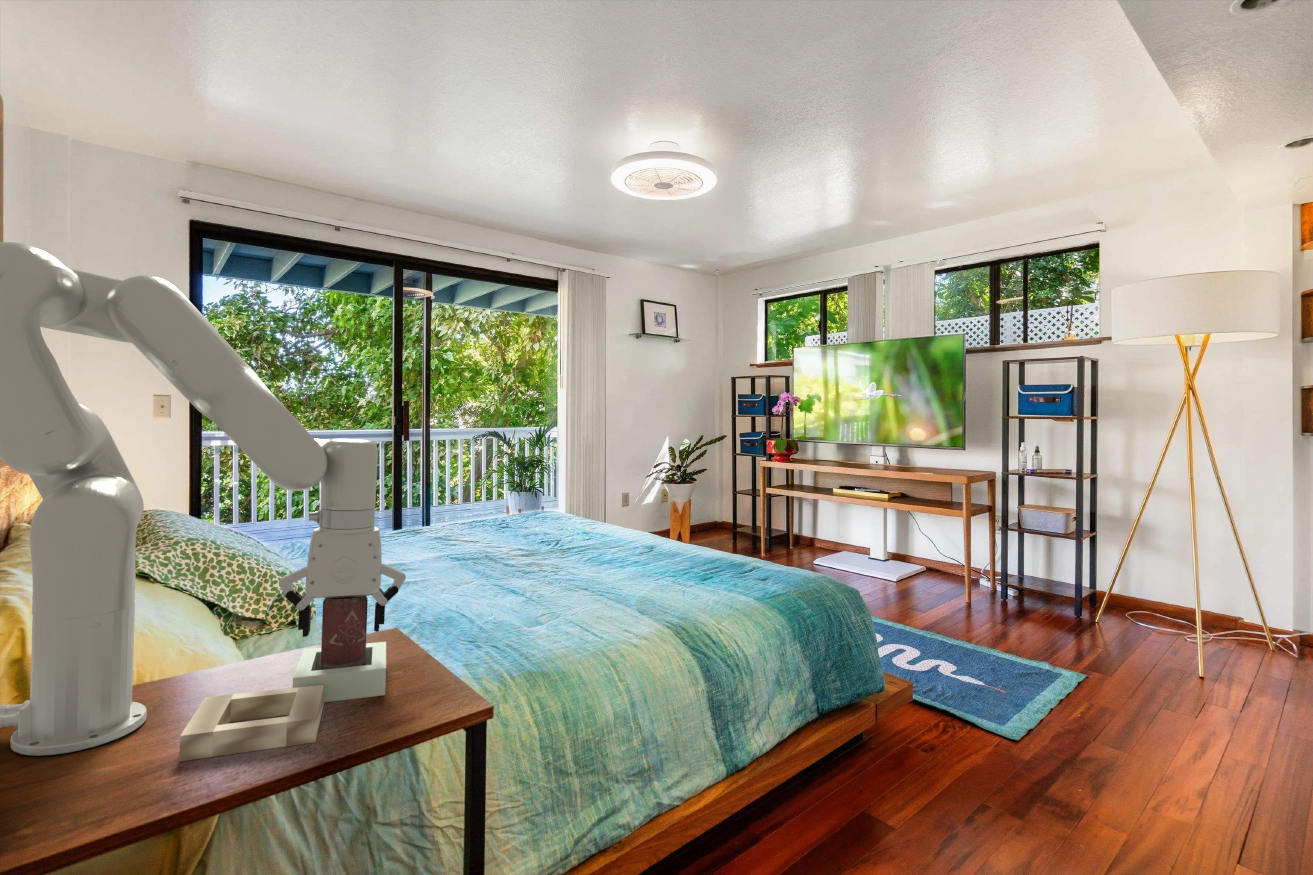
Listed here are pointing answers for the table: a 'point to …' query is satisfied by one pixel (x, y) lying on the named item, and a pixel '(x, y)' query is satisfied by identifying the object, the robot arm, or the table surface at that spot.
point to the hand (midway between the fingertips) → (342, 631)
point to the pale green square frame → (344, 675)
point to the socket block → (253, 722)
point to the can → (344, 632)
